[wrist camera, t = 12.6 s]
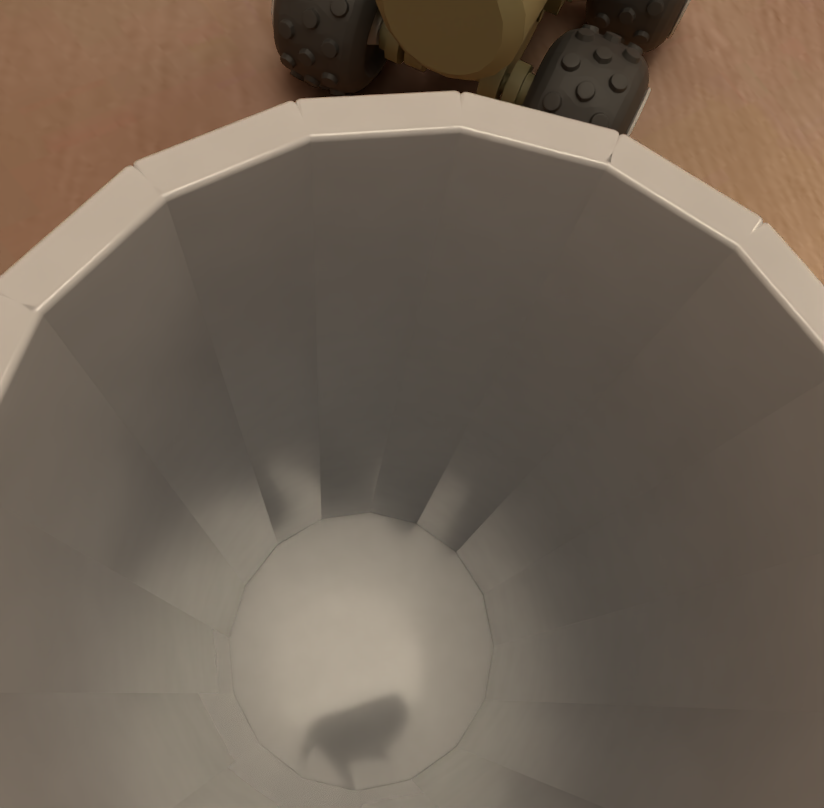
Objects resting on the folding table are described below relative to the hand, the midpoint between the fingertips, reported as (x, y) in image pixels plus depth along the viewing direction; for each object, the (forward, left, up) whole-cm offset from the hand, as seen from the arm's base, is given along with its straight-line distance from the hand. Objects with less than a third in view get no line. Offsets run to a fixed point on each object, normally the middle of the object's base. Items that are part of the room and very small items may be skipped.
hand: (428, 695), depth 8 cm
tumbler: (+1, 0, -9) cm, 9 cm away
